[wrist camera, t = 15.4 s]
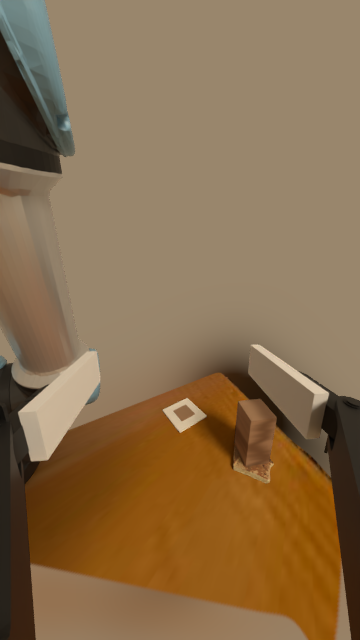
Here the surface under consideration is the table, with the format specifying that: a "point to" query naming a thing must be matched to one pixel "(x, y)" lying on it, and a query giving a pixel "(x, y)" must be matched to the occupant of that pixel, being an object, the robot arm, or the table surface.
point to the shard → (252, 468)
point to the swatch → (184, 414)
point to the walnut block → (254, 432)
